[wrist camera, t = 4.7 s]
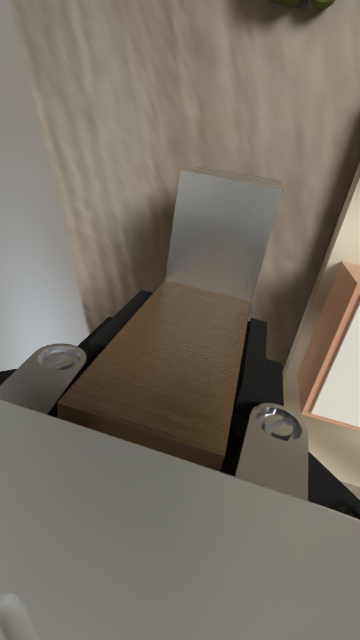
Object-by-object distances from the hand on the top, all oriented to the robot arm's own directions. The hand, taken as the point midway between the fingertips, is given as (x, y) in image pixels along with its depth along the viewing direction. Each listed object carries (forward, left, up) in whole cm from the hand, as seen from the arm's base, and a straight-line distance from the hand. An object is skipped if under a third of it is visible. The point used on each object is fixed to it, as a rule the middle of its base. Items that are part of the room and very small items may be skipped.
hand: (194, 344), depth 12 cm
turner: (-1, 0, -4) cm, 4 cm away
